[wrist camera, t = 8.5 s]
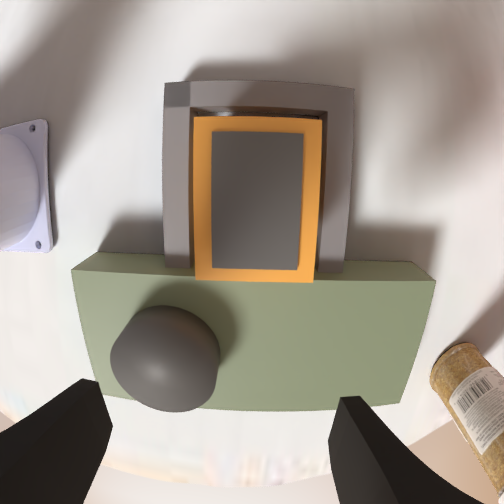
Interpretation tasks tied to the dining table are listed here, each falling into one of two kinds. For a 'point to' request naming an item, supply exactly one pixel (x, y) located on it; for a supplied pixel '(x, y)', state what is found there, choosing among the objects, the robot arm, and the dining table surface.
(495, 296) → the dining table surface
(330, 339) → the green block with knob
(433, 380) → the sprinkles bottle
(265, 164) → the chute block
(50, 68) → the dining table surface
